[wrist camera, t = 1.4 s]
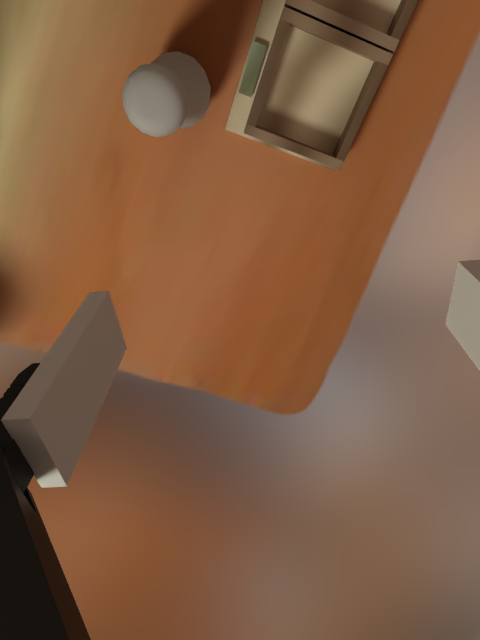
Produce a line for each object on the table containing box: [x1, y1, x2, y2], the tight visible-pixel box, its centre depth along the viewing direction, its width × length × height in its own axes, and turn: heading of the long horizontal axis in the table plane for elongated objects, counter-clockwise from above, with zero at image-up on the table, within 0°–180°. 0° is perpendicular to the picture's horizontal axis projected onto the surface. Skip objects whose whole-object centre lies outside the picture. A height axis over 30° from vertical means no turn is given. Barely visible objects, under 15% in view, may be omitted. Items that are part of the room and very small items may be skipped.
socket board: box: [225, 0, 418, 171], centre depth 33 cm, size 11×20×2 cm, turn 161°
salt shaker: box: [123, 51, 211, 137], centre depth 31 cm, size 6×6×13 cm
